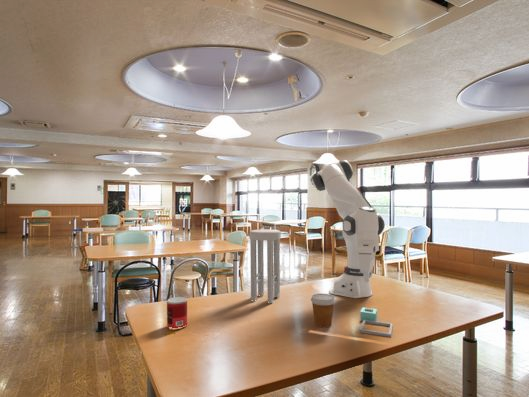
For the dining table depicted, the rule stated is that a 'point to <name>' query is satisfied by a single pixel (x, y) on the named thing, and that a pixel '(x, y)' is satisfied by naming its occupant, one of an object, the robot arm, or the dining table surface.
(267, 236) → the stool
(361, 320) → the stake
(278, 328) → the dining table surface
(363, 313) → the ring
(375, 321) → the tray
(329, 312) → the disposable coffee cup
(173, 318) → the canned food
